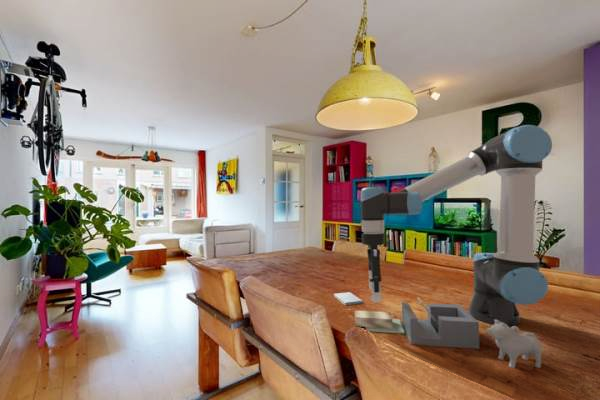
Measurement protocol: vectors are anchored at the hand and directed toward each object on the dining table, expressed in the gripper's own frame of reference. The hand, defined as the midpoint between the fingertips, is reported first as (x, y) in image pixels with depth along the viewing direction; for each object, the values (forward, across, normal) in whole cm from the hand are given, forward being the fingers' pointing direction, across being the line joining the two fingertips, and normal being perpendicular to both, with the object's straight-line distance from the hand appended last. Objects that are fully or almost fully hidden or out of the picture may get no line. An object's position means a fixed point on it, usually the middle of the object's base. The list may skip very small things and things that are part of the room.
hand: (374, 295), depth 97 cm
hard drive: (+11, -25, -9) cm, 29 cm away
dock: (+11, +4, +18) cm, 22 cm away
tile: (+10, 0, -1) cm, 10 cm away
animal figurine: (+11, +18, +33) cm, 39 cm away
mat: (+10, 0, +2) cm, 11 cm away
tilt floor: (+5, +5, +17) cm, 18 cm away
